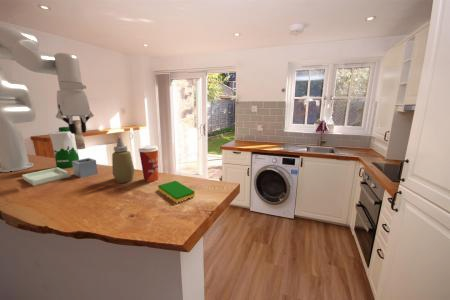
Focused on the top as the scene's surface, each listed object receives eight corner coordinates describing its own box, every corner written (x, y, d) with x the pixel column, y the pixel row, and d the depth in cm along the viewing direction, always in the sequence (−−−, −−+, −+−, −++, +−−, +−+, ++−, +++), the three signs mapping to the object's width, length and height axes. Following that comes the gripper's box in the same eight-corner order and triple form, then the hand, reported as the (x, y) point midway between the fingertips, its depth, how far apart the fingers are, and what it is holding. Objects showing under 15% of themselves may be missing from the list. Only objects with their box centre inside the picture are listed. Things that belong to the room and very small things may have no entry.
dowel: (75, 148, 86) (70, 120, 83) (83, 147, 88) (79, 120, 85) (78, 149, 84) (73, 120, 81) (86, 148, 86) (82, 120, 84)
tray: (23, 180, 84) (22, 174, 83) (58, 172, 93) (57, 167, 93) (34, 188, 76) (32, 181, 75) (71, 178, 86) (70, 172, 85)
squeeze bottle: (110, 180, 83) (104, 137, 79) (130, 175, 88) (125, 135, 84) (118, 186, 77) (111, 140, 73) (138, 180, 83) (134, 137, 79)
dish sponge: (175, 186, 78) (175, 180, 78) (195, 198, 68) (195, 191, 67) (158, 191, 74) (157, 185, 73) (176, 205, 63) (176, 198, 63)
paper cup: (154, 183, 80) (151, 149, 77) (137, 182, 81) (133, 148, 78) (164, 176, 87) (162, 145, 84) (148, 175, 89) (145, 144, 86)
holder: (74, 176, 88) (71, 161, 86) (91, 172, 93) (88, 157, 92) (81, 179, 84) (78, 163, 83) (98, 175, 90) (95, 160, 88)
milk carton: (82, 164, 107) (76, 126, 102) (74, 169, 98) (66, 128, 94) (63, 165, 105) (56, 127, 100) (53, 170, 96) (44, 129, 92)
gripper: (89, 89, 89) (95, 130, 93) (41, 86, 76) (50, 134, 80) (97, 88, 85) (103, 131, 89) (48, 85, 72) (58, 136, 76)
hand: (78, 132), depth 84 cm, fingers closed on dowel, 3 cm apart
